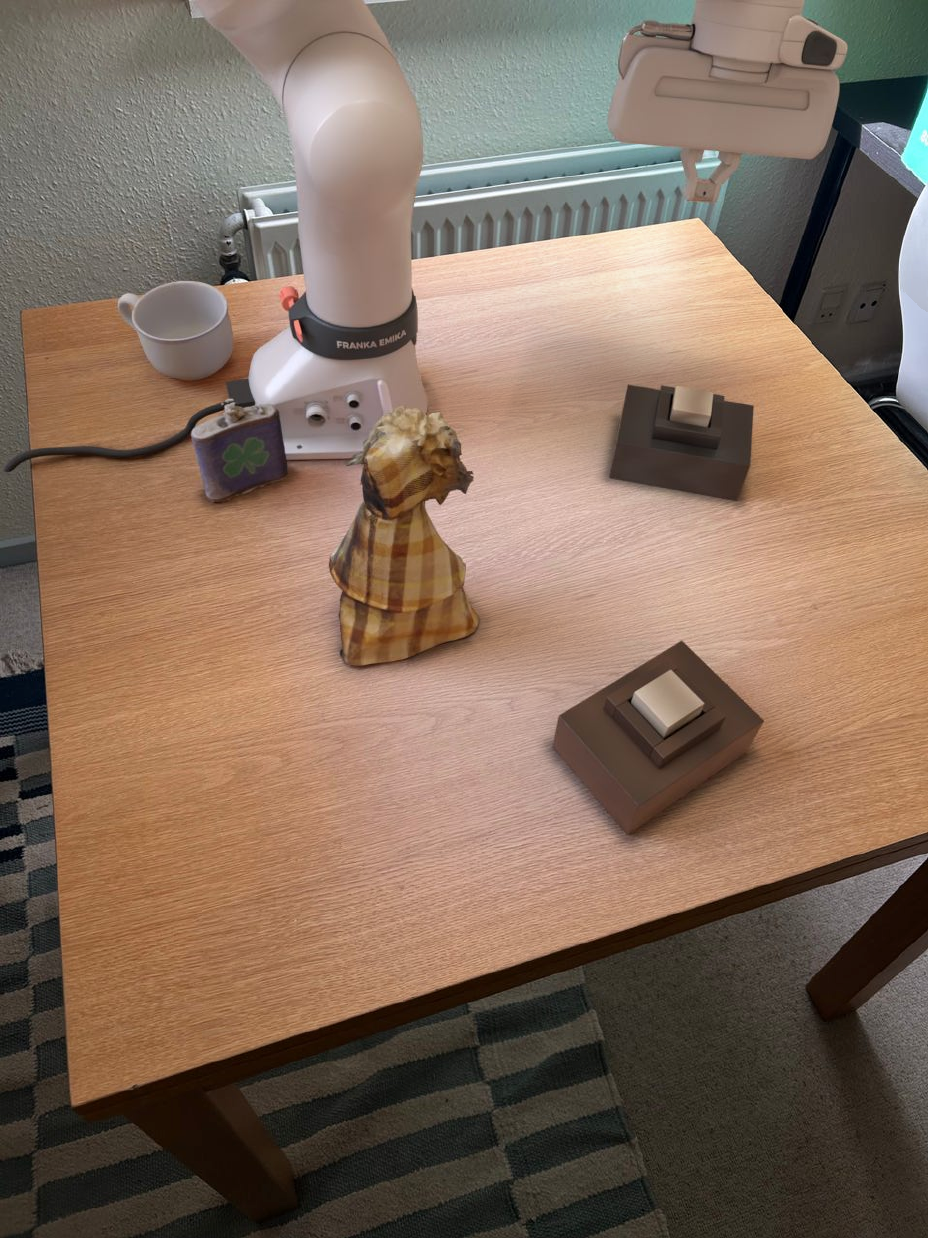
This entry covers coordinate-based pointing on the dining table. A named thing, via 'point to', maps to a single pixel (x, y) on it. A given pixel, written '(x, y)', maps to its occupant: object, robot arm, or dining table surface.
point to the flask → (240, 450)
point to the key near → (667, 703)
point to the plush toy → (402, 544)
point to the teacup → (181, 328)
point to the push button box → (653, 739)
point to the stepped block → (683, 445)
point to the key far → (691, 406)
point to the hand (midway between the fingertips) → (699, 200)
